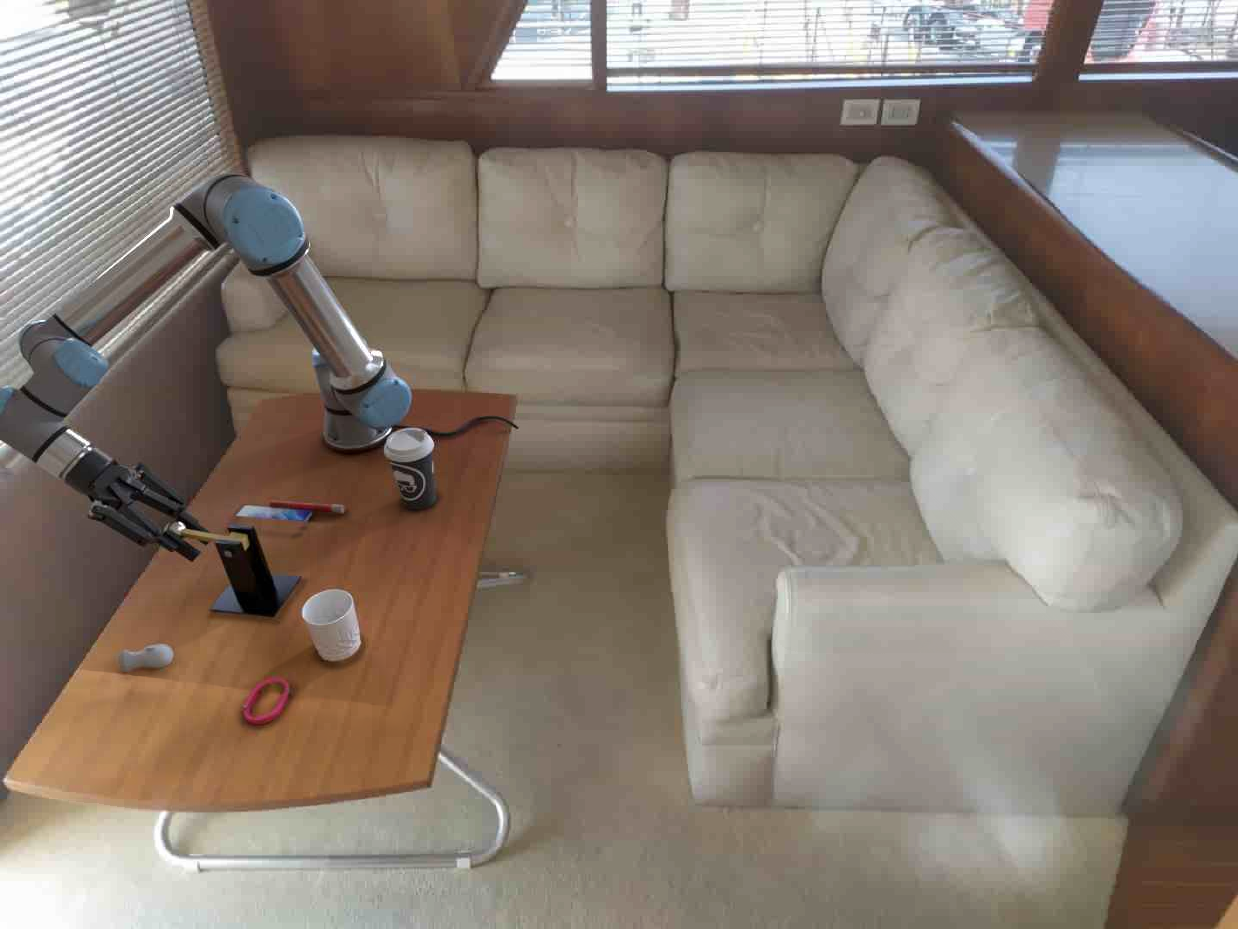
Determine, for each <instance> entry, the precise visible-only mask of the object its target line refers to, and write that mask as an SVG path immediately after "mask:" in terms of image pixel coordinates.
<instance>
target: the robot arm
mask: <svg viewBox="0 0 1238 929" xmlns="http://www.w3.org/2000/svg"><path fill="white" fill-rule="evenodd" d="M226 243H227V244H228V245H229V246H230V247H231V249H232V250H233V252H234V253H235V254H236V255H237V257H238V258H239V260H241V262H242V264H243V265H244V266H245V268H246V269H247V271H248V272H249V273H250V275H251V276H253V277H255V278H259V279H265V281H266V282H267V283H268V285H269V286H270V288H271V289H272V290H273V292H274V293H275V294H276V296H277V297H278V299H279V300H280V301H281V303H282V304H283V306H284V307H285V309H286V310H287V312H288V313H289V314H290V316H291V317H292V319H293V320H294V321H295V323H296V324H297V325H298V327H299V328H300V330H301V331H302V332H303V334H304V335H305V337H306V338H307V339H308V341H309V342H310V344H311V345H312V346H313V349H312V351H311V359H312V367H313V369H314V372H315V376H316V379H317V383H318V386H319V392H320V394H321V398H322V402H323V406H324V409H325V412H324V423H323V431H322V436H323V440H324V443H325V444H326V446H327V447H328V448H329V449H331V450H333V451H335V452H337V453H338V452H339V453H345V454H346V453H347V454H354V453H362V452H363V453H364V452H366V451H370V450H373V449H375V448H378V447H380V446H382V445H383V444H386V441H387V438H388V437H389V436H390V435H391V434H392V433H394V432H395V429H400V430H401V429H405V428H419V429H422V430H424V431H425V432H426V433H430V434H433V435H436V436H441V437H447V436H448V437H449V436H453V435H456V434H459V433H461V432H462V431H464V430H465V429H466V428H468V426H469V425H471V424H472V423H474V422H477V421H483V420H499V421H502V422H505V423H507V425H510V426H511V427H513V428H514V429H515V430H518V429H520V427H519V426H518V425H517V424H516V423H514V422H513V421H511V420H509V419H508V418H506V417H504V416H499V415H481V416H476V417H474V418H471V419H469V420H468V421H467V422H465V423H464V424H462V426H461V427H459V428H457V429H455V430H453V431H448V432H446V431H445V432H442V431H437V430H433V429H430V428H426V427H419V426H411V425H404V424H403V425H402V424H399V423H400V422H401V421H403V419H404V418H405V416H406V415H407V414H408V412H409V410H410V406H411V404H412V400H413V398H412V391H411V389H410V387H409V386H408V384H407V382H406V381H405V380H403V379H402V378H400V377H398V375H396V373H395V372H394V370H393V369H392V368H391V366H390V364H389V363H388V361H387V360H386V358H385V356H384V355H383V353H382V352H381V351H380V350H378V349H376V348H372V347H369V345H368V344H367V341H366V340H365V339H364V337H363V336H362V335H361V333H360V332H359V331H358V329H357V328H356V326H355V324H354V323H353V321H352V320H351V318H350V317H349V315H348V314H347V312H346V311H345V309H344V308H343V306H342V305H341V303H340V301H339V300H338V298H337V297H336V295H335V294H334V293H333V291H332V289H331V287H330V286H329V284H328V283H327V281H326V280H325V279H324V276H322V274H321V272H320V271H319V269H318V268H317V267H316V264H315V263H314V261H313V260H312V259H311V257H310V255H309V251H310V248H311V241H310V239H309V238H308V237H307V234H306V233H305V232H304V224H303V221H302V218H301V215H300V214H299V211H298V210H297V209H296V207H295V206H294V205H293V204H292V202H291V201H290V200H289V199H288V198H287V197H286V196H284V195H283V194H281V193H280V192H278V191H276V190H275V189H273V188H270V187H267V186H265V185H263V184H262V183H260V182H258V181H257V180H255V179H254V178H252V177H250V176H248V175H245V174H243V173H238V172H226V173H220V174H217V175H214V176H212V177H210V178H208V179H207V180H205V181H204V182H202V183H201V184H199V185H197V186H196V187H194V189H193V190H191V191H190V192H189V193H187V194H186V195H185V196H184V197H182V198H181V199H180V200H179V201H177V202H176V203H175V204H174V205H173V206H171V208H170V216H169V218H168V219H166V220H165V221H164V222H163V223H162V224H160V225H159V226H158V227H157V228H155V229H154V230H153V231H152V232H151V233H149V235H147V236H145V238H144V239H142V240H141V241H140V242H139V243H137V244H136V245H135V246H134V247H133V248H131V249H130V250H129V251H128V252H127V253H126V254H124V255H123V256H122V257H121V258H120V259H118V260H117V261H116V262H115V263H113V264H112V265H111V266H110V267H109V268H108V269H107V270H105V271H104V272H103V273H102V274H100V275H99V276H98V277H96V278H95V279H94V280H92V282H91V283H89V284H88V285H87V286H86V287H85V288H83V289H82V290H80V292H78V293H77V294H76V295H75V296H74V297H73V298H71V299H70V300H69V301H68V302H67V303H66V304H64V305H63V306H62V307H61V308H59V309H58V310H57V311H56V312H54V313H53V314H52V315H51V316H49V317H48V318H47V319H39V320H38V319H37V320H34V321H31V322H29V323H27V324H26V325H24V327H23V328H22V329H21V330H20V332H19V334H18V346H19V350H20V353H21V356H22V358H23V359H24V360H25V362H26V363H27V364H28V365H29V367H30V368H31V370H32V372H33V374H32V375H31V376H30V377H29V379H27V381H25V383H24V384H23V385H21V387H19V388H15V387H12V386H11V385H4V386H2V387H0V441H1V442H2V443H4V444H6V446H9V447H10V448H12V449H13V450H15V451H16V452H18V453H19V454H21V456H23V457H26V458H27V459H28V460H30V461H32V462H33V463H34V464H36V465H37V466H38V467H40V468H42V469H43V470H44V471H46V472H48V473H49V474H50V475H51V476H53V477H55V478H56V479H58V480H60V479H63V478H64V479H63V482H64V484H65V485H66V486H68V487H69V488H71V489H72V490H74V491H75V492H77V493H78V494H80V495H84V496H86V497H87V498H88V499H89V501H90V502H91V503H92V504H91V507H90V510H89V511H88V513H87V514H86V517H87V518H88V519H90V520H93V521H96V522H99V523H102V524H104V525H105V526H107V527H109V528H111V529H112V530H114V531H116V532H117V533H119V534H121V535H122V536H124V537H125V538H127V539H129V540H130V541H132V542H134V543H135V544H137V545H138V546H140V547H142V548H143V547H147V545H149V544H150V545H154V544H155V543H156V544H158V545H159V546H161V548H163V549H165V550H166V551H168V552H169V553H174V552H175V553H177V554H178V555H180V556H181V557H183V558H185V559H186V560H187V561H189V562H190V563H193V562H194V561H195V560H197V558H198V557H199V556H200V554H201V553H202V551H201V550H199V549H198V548H196V547H195V546H193V545H192V544H191V543H189V542H188V541H186V540H185V539H181V538H180V537H179V536H177V535H176V534H174V533H173V532H171V531H170V530H168V529H167V530H166V531H165V532H164V531H163V530H162V529H161V528H160V527H159V526H158V525H157V524H156V523H155V522H154V521H153V520H152V519H151V518H150V517H148V516H147V515H146V514H145V513H144V512H143V511H142V510H141V509H140V508H138V507H137V505H136V504H134V501H135V502H137V501H138V502H140V503H142V504H144V505H146V506H148V507H149V508H152V509H154V510H156V511H158V512H160V513H161V514H164V515H166V516H168V517H169V518H172V519H175V520H174V521H181V522H183V523H184V524H185V525H186V526H187V529H189V530H195V531H201V532H206V533H212V532H211V531H209V530H208V529H206V528H205V527H204V526H203V525H201V524H200V521H199V519H198V518H197V517H195V516H193V515H192V514H191V513H189V512H188V511H186V510H185V509H186V502H187V498H186V497H185V496H183V495H182V494H181V493H179V492H178V491H177V490H175V489H174V488H173V487H172V486H170V485H169V484H168V483H166V482H165V481H164V480H162V479H161V478H160V477H159V476H157V475H156V474H155V473H153V471H151V469H150V468H149V467H148V465H147V464H146V463H145V462H143V461H140V462H138V464H137V465H135V466H133V467H127V466H125V465H122V464H119V463H118V462H117V459H116V458H115V457H113V456H112V455H110V453H107V452H106V450H103V449H102V448H101V447H97V446H96V447H94V442H92V441H91V440H89V439H88V438H86V437H85V436H84V435H82V434H81V433H79V432H77V430H75V429H73V428H72V427H70V426H69V425H68V424H66V423H65V422H64V420H65V419H66V418H67V417H68V416H69V415H70V413H71V412H72V411H73V410H74V409H75V408H76V407H77V406H78V405H79V404H80V403H81V402H82V400H84V398H85V397H86V396H87V395H88V394H89V393H90V392H91V391H92V390H93V389H94V388H95V387H96V386H98V385H99V384H100V383H101V380H102V379H103V377H104V376H105V375H106V373H108V371H109V369H110V363H109V361H108V360H107V359H106V357H104V356H103V355H102V354H101V353H100V352H98V351H97V350H96V349H95V348H94V347H93V346H94V345H95V344H96V343H97V342H99V341H100V340H101V339H102V338H104V336H106V335H107V334H108V333H109V332H111V331H112V330H113V329H114V328H115V327H116V326H118V325H119V324H120V323H121V322H123V321H124V320H125V319H126V318H127V317H128V316H129V315H131V314H132V313H133V312H134V311H135V310H137V309H138V308H139V307H140V306H142V305H143V304H144V303H145V302H146V301H147V300H149V299H150V298H151V297H152V296H154V295H155V294H156V293H157V292H158V291H160V290H161V289H162V288H163V287H164V286H165V285H166V284H168V283H169V282H170V281H171V280H172V279H173V278H175V277H176V276H177V275H179V273H181V272H182V271H183V270H184V269H185V268H187V267H188V266H189V265H190V264H191V263H192V262H194V261H195V260H196V259H198V257H200V256H201V255H203V253H206V252H212V253H213V252H216V251H217V250H218V249H219V248H220V247H221V246H223V245H224V244H226ZM108 507H110V508H111V509H110V508H108ZM112 509H113V510H112ZM197 541H198V542H200V543H201V544H203V545H204V546H208V544H209V543H210V542H208V541H202V540H197Z"/></svg>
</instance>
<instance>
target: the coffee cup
mask: <svg viewBox="0 0 1238 929" xmlns="http://www.w3.org/2000/svg"><path fill="white" fill-rule="evenodd" d="M434 447H435V442H434V441H433V439H432V437H431V436H430V435H429V434H428V432H425V431H424V430H422V429H419V428H405V429H401V428H400V429H397V430H396V431H394V432H393V433H392V434H391V435H390V436H389V437H388V438H387V441H386V442H385V443H384V446H383V454H384V456H385V457H386V458H387V460H388V461H389V464H390V467H391V470H392V473H393V476H394V479H395V482H396V485H397V488H398V491H399V493H400V497H401V500H402V503H403V505H404V507H405V508H406V509H408V510H411V511H422V510H426V509H428V508H430V507H431V506H433V505H434V504H435V502H436V500H437V494H436V493H437V492H436V483H435V482H436V481H435V471H434V470H435V469H434V468H435V467H434V458H433V450H434Z"/></svg>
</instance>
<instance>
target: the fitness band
mask: <svg viewBox="0 0 1238 929" xmlns="http://www.w3.org/2000/svg"><path fill="white" fill-rule="evenodd" d="M274 682H275V683H276V682H278V683H281V684H283V686H284V692H283V694H282V696H281V697H280V699H279V700H278V702H277V703H276V705H275V707H274V708H273V709H272V710H271V711H270V712H268V713H266V714H264V715H261V716H252V715H251V714H250V713H251V709H252V707H253V706H254V704H255V702H256V701H257V700H258V699H259V697H260V695H261V694H262V692H263V691H262V690H261V688H263V687H264V686H266V685H267V684H270V683H274ZM289 692H290V684H289V682H288V681H287V680H286V679H284V678H282V677H271V678H270V677H269V678H267V679H264V680H263V681H261V682H260V683H258V684H257V685H256V686H255V687H254V688H253V689H252V691H251V692H250V693H249V695H248V696H247V698H246V699H245V701H244V703H243V704H242V709H243V715H244V718H245V720H246V721H247V722H248V723H250V724H253V725H263V724H267V723H270V722H271V721H273V720H275V719H276V718H277V717H279V715H280V714H281V713H282V711H283V710H284V708H285V707H286V705H287V704H288V702H289V700H290V697H291V696H292V693H289Z"/></svg>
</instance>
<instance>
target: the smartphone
mask: <svg viewBox="0 0 1238 929" xmlns="http://www.w3.org/2000/svg"><path fill="white" fill-rule="evenodd" d="M312 515H313V511H311V510H300V509H286V508H285V509H284V508H271V507H270V506H265V505H255V504H252V505H251V504H244V505H242V507H241V508H240V509H238V511H237V512H236V513H235V515H234V517H235V516H236V517H246V518H247V517H248V518H257V519H270V520H280V521H294V522H304V523H308V521H309V520H310V518H311V517H312Z"/></svg>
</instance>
